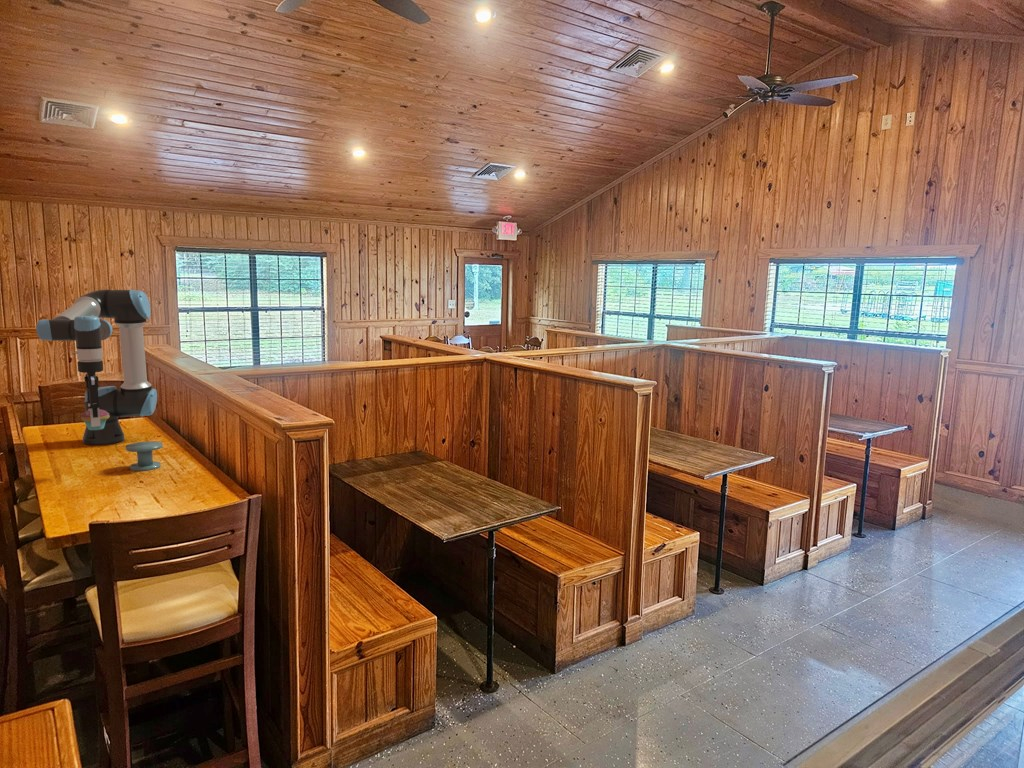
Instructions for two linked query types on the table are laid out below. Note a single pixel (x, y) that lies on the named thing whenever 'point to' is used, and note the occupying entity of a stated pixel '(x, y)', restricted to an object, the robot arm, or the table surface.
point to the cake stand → (144, 455)
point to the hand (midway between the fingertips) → (94, 423)
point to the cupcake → (87, 419)
